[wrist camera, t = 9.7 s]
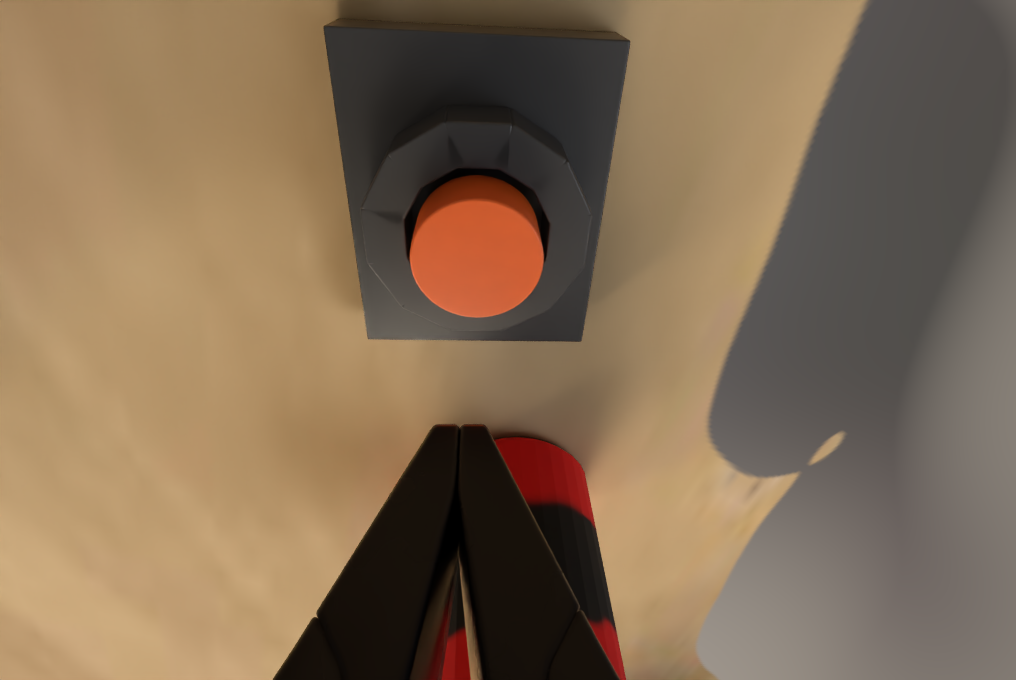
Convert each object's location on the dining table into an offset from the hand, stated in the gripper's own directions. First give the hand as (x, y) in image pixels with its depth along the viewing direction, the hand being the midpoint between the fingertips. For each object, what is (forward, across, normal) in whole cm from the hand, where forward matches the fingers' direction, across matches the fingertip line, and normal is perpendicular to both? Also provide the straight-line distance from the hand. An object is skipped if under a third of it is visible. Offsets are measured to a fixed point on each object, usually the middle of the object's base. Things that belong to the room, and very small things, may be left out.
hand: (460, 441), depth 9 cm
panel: (+12, 0, 0) cm, 12 cm away
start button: (+8, 0, 0) cm, 8 cm away
